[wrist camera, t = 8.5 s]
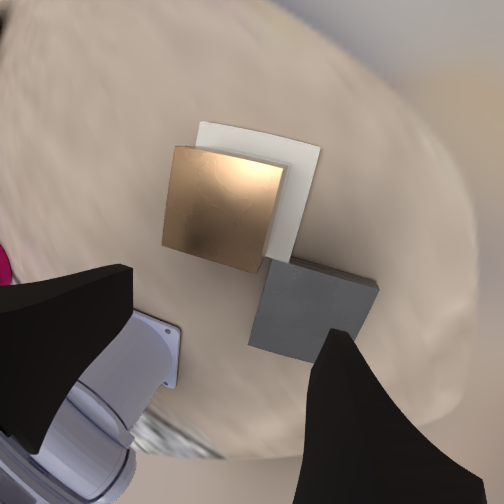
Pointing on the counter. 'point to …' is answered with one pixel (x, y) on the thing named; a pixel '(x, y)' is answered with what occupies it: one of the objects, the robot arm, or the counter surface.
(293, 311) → the stand
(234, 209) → the block
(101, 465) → the robot arm
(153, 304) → the counter surface
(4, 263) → the pepper mill
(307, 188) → the stand
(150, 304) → the counter surface
